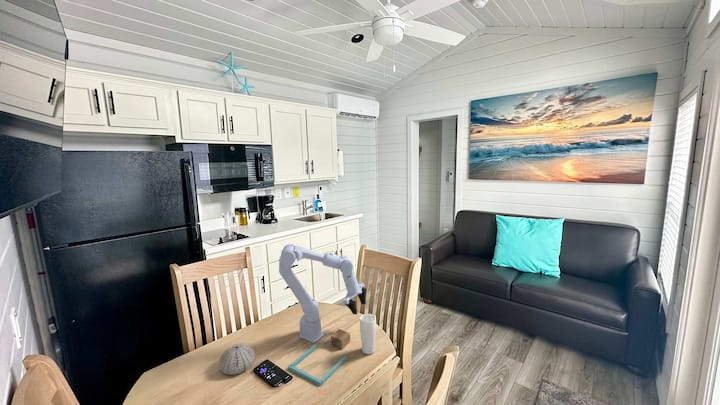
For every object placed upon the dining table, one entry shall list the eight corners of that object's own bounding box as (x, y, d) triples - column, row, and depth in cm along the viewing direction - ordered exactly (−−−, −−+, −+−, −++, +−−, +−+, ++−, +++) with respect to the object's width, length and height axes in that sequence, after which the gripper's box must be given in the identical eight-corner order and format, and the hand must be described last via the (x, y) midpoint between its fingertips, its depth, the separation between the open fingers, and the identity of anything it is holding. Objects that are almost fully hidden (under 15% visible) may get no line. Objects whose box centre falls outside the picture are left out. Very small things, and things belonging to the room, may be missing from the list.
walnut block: (331, 345, 128) (330, 335, 127) (339, 338, 132) (339, 329, 132) (342, 350, 124) (341, 340, 124) (350, 342, 129) (350, 333, 129)
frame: (288, 369, 113) (288, 366, 113) (315, 346, 127) (315, 344, 126) (320, 386, 105) (320, 383, 104) (346, 360, 118) (346, 357, 118)
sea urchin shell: (262, 358, 120) (261, 340, 119) (239, 382, 108) (237, 362, 106) (236, 351, 125) (235, 334, 123) (211, 374, 112) (209, 355, 111)
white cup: (375, 357, 119) (374, 323, 117) (359, 355, 120) (358, 321, 118) (377, 346, 126) (377, 314, 123) (362, 344, 127) (361, 312, 125)
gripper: (349, 291, 125) (358, 319, 127) (366, 274, 136) (374, 300, 139) (336, 291, 129) (345, 317, 131) (354, 274, 141) (362, 299, 143)
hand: (359, 308), depth 136 cm, fingers open, 7 cm apart
